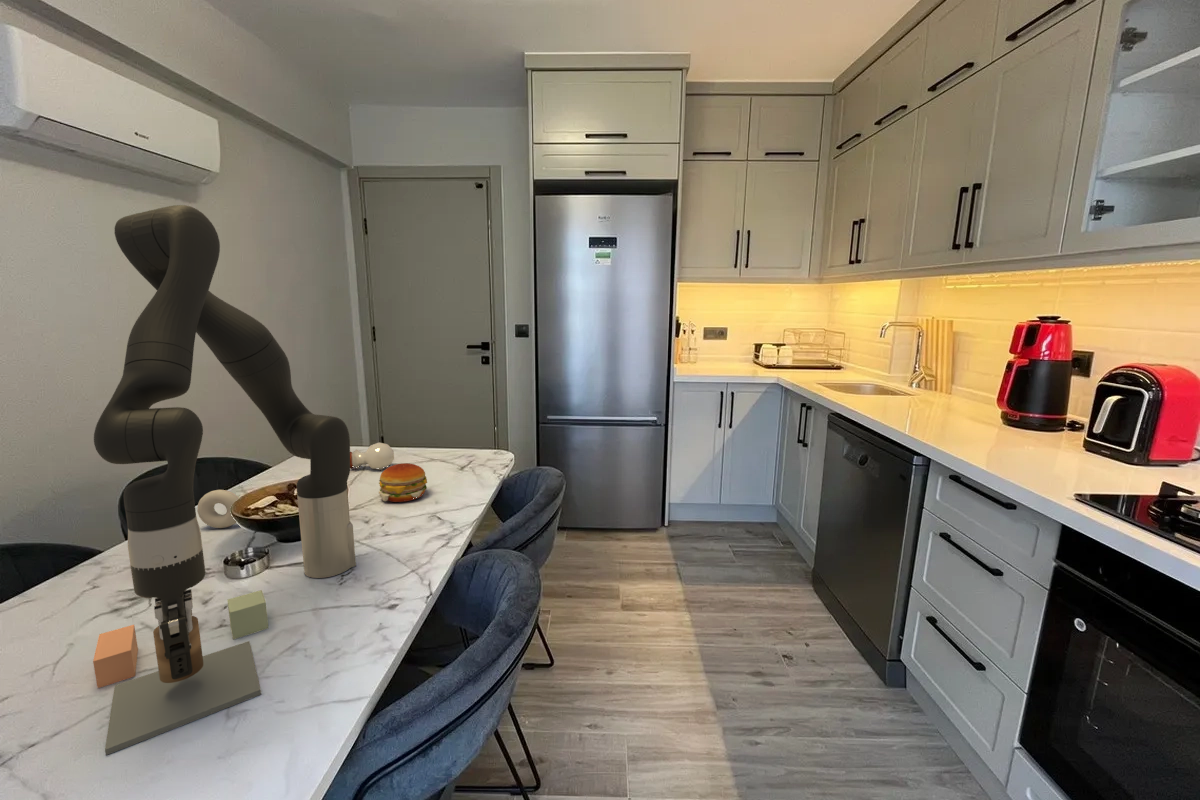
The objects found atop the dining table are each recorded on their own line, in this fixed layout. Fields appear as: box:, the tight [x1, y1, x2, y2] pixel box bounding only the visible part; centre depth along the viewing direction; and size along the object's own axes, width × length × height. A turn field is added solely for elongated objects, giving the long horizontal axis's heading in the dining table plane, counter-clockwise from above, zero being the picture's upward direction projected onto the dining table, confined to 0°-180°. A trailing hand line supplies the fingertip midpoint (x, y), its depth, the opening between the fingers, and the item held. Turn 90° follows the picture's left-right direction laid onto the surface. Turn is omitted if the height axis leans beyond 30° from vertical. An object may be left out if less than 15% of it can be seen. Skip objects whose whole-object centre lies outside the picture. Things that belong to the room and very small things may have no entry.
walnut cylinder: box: [152, 615, 204, 683], centre depth 71 cm, size 5×5×7 cm
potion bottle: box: [350, 442, 395, 471], centre depth 176 cm, size 9×10×15 cm
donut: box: [196, 489, 240, 529], centre depth 126 cm, size 10×4×10 cm, turn 99°
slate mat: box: [104, 640, 262, 756], centre depth 72 cm, size 16×14×1 cm
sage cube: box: [226, 589, 269, 640], centre depth 87 cm, size 5×5×5 cm
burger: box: [378, 462, 428, 503], centre depth 149 cm, size 13×14×10 cm
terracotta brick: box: [92, 624, 139, 689], centre depth 77 cm, size 8×4×4 cm, turn 40°
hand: (182, 664), depth 71 cm, fingers closed on walnut cylinder, 4 cm apart
